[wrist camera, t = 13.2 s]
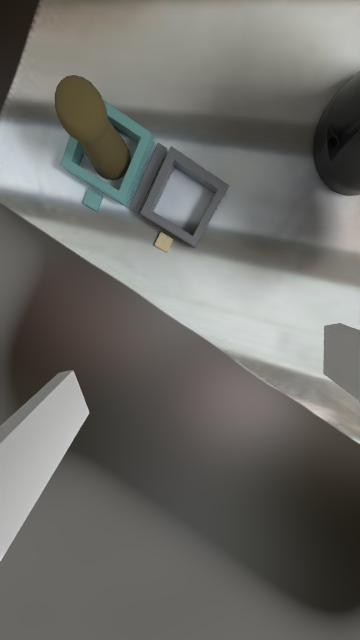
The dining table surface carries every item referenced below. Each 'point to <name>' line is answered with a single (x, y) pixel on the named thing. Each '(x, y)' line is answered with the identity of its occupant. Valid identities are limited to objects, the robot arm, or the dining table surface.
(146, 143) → the panel
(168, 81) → the dining table surface
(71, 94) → the cork
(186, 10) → the dining table surface
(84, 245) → the dining table surface
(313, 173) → the dining table surface
